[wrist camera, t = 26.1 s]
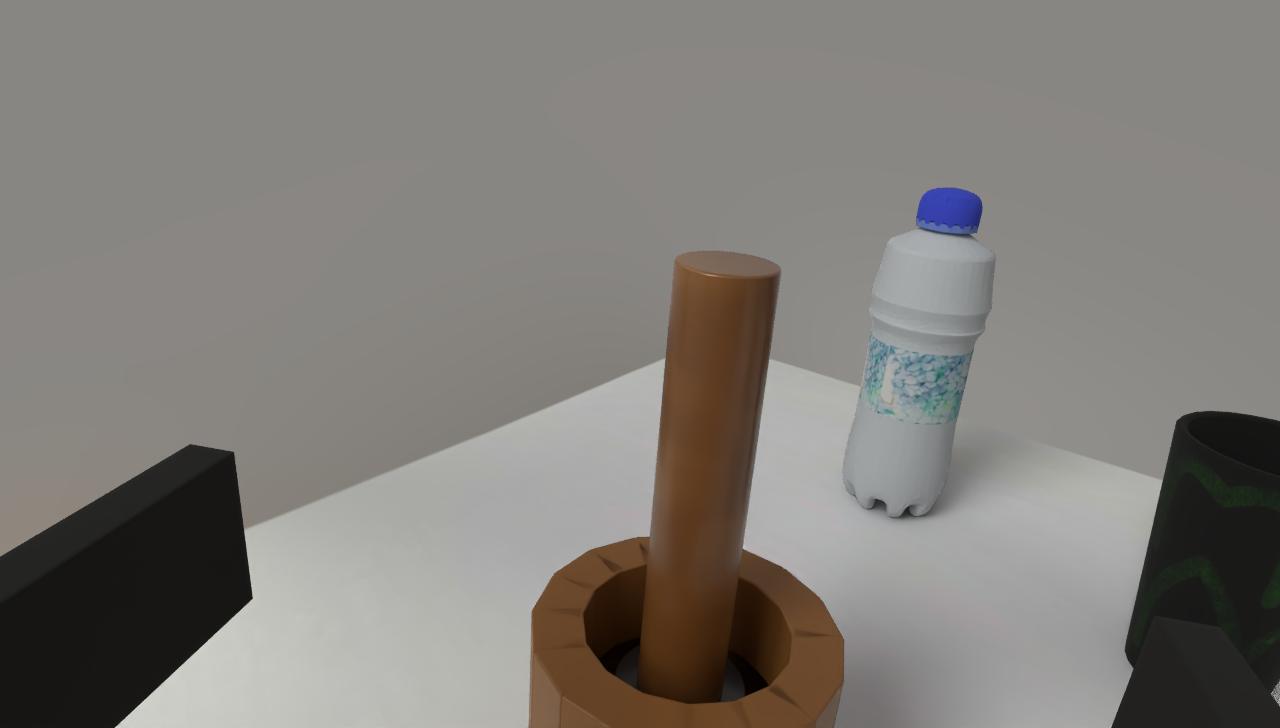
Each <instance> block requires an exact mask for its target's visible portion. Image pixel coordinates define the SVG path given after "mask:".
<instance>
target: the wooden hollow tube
mask: <svg viewBox="0 0 1280 728" xmlns="http://www.w3.org/2000/svg"><path fill="white" fill-rule="evenodd" d="M649 540H650V537H637V538H631V539H628V540H624V541H621V542H617V543H613V544H610V545H606V546H602V547H599V548H595V549H592V550H589V551H587V552H586V553H584V554H583V555H581V556H580V557H578V558H577V559H575V560H574V561H572V562H571V563H569V564H568V565H566V566H565V567H563V568H562V569H560V570H559V571H557V572H556V573H554V576H552V578H551V580H550V582H549V583H548V585H547V587H546V588H545V590H544V592H543V593H542V595H541V597H540V598H539V600H538V602H537V603H536V605H535V607H534V608H533V610H532V623H531V661H530V699H529V728H834V725H835V720H836V715H837V710H838V706H839V701H840V696H841V691H842V686H843V682H844V639H843V637H842V635H841V633H840V632H839V630H838V628H837V626H836V624H835V623H834V621H833V619H832V617H831V615H830V614H829V612H828V610H827V608H826V606H825V605H824V603H823V601H822V600H820V598H819V597H818V596H817V595H816V594H815V593H813V592H812V591H811V590H810V589H809V588H807V587H806V586H805V585H804V584H803V583H802V582H800V581H799V580H798V579H797V578H796V577H794V576H793V575H792V574H791V573H790V572H788V571H787V570H786V569H783V567H781V566H779V565H777V564H775V563H772V562H770V561H768V560H766V559H764V558H761V557H759V556H757V555H755V554H753V553H750V552H748V551H746V550H744V549H742V556H741V563H740V570H739V577H738V584H737V592H736V599H735V606H734V613H733V620H732V627H731V634H730V642H729V649H728V656H727V658H728V659H729V660H730V661H731V662H732V663H733V664H734V665H735V666H736V668H737V669H738V671H739V672H740V674H741V676H742V678H743V681H744V685H745V690H746V696H745V697H743V698H740V699H738V700H736V701H732V702H715V703H697V704H686V703H682V702H678V701H674V700H670V699H666V698H662V697H658V696H654V695H650V694H646V693H642V692H640V691H639V690H637V689H635V688H634V687H632V686H631V685H629V684H627V683H626V682H624V681H623V680H621V679H619V678H618V677H616V676H614V675H615V671H616V668H617V666H618V664H619V662H620V661H621V660H622V658H623V657H624V656H625V655H626V654H627V653H628V652H629V651H631V650H632V649H633V648H635V647H637V646H638V645H640V641H641V630H642V619H643V608H644V596H645V585H646V574H647V563H648V551H649Z"/></svg>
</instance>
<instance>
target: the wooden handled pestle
mask: <svg viewBox="0 0 1280 728" xmlns="http://www.w3.org/2000/svg"><path fill="white" fill-rule="evenodd" d="M780 277H781V269H780V267H779V266H778V265H777V264H775V263H773V262H771V261H769V260H766V259H763V258H760V257H756V256H752V255H747V254H740V253H734V252H723V251H697V252H689V253H685V254H681V255H679V256H677V257H676V259H675V261H674V271H673V283H672V294H671V305H670V316H669V327H668V338H667V350H666V361H665V372H664V383H663V394H662V406H661V417H660V428H659V439H658V451H657V462H656V473H655V484H654V495H653V507H652V518H651V529H650V540H649V551H648V563H647V574H646V585H645V596H644V608H643V619H642V630H641V641H640V645H638V646H637V647H635V648H633V649H632V650H631V651H629V652H628V653H627V654H626V655H625V656H624V657H623V658H622V660H621V661H620V662H619V664H618V666H617V668H616V671H615V675H614V676H616V677H618V678H619V679H621V680H623V681H624V682H626V683H627V684H629V685H631V686H632V687H634V688H635V689H637V690H639V691H640V692H642V693H646V694H650V695H654V696H658V697H662V698H666V699H670V700H674V701H678V702H682V703H686V704H697V703H715V702H732V701H736V700H738V699H740V698H743V697H745V696H746V690H745V685H744V681H743V678H742V676H741V674H740V672H739V671H738V669H737V668H736V666H735V665H734V664H733V663H732V662H731V661H730V660H729V659H728V658H727V656H728V649H729V642H730V634H731V627H732V620H733V613H734V606H735V599H736V592H737V584H738V577H739V570H740V563H741V556H742V549H743V542H744V535H745V527H746V520H747V513H748V506H749V499H750V492H751V485H752V477H753V470H754V463H755V456H756V449H757V442H758V435H759V427H760V420H761V413H762V406H763V399H764V392H765V385H766V378H767V370H768V363H769V356H770V349H771V342H772V334H773V327H774V320H775V313H776V306H777V298H778V292H779V285H780Z"/></svg>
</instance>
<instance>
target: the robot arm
mask: <svg viewBox="0 0 1280 728" xmlns="http://www.w3.org/2000/svg"><path fill="white" fill-rule="evenodd" d="M252 599H253V596H252V589H251V581H250V573H249V565H248V558H247V550H246V542H245V534H244V527H243V519H242V511H241V503H240V495H239V488H238V480H237V472H236V465H235V457H234V452H231V451H225V450H220V449H214V448H208V447H203V446H197V445H191V444H190V445H188V446H186V447H185V448H183V449H181V450H180V451H178V452H176V453H175V454H173V455H171V456H170V457H168V458H166V459H165V460H163V461H161V462H160V463H158V464H156V465H154V466H153V467H151V468H149V469H148V470H146V471H144V472H143V473H141V474H139V475H137V476H136V477H134V478H132V479H131V480H129V481H127V482H126V483H124V484H122V485H121V486H119V487H117V488H116V489H114V490H112V491H111V492H109V493H107V494H105V495H104V496H102V497H100V498H99V499H97V500H95V501H94V502H92V503H90V504H89V505H87V506H85V507H83V508H82V509H80V510H78V511H77V512H75V513H73V514H72V515H70V516H68V517H67V518H65V519H63V520H61V521H60V522H58V523H56V524H55V525H53V526H51V527H50V528H48V529H46V530H45V531H43V532H41V533H40V534H38V535H36V536H34V537H33V538H31V539H29V540H28V541H26V542H24V543H23V544H21V545H19V546H18V547H16V548H14V549H12V550H11V551H9V552H7V553H6V554H4V555H2V556H1V557H0V728H115V727H116V726H117V725H118V724H119V723H120V722H121V721H122V720H123V719H125V718H126V717H127V716H128V715H129V714H130V713H131V712H132V711H133V710H134V709H135V708H136V707H137V706H138V705H140V704H141V703H142V702H143V701H144V700H145V699H146V698H147V697H148V696H149V695H150V694H151V693H152V692H153V691H154V690H156V689H157V688H158V687H159V686H160V685H161V684H162V683H163V682H164V681H165V680H166V679H167V678H168V677H169V676H171V675H172V674H173V673H174V672H175V671H176V670H177V669H178V668H179V667H180V666H181V665H182V664H183V663H184V662H185V661H187V660H188V659H189V658H190V657H191V656H192V655H193V654H194V653H195V652H196V651H197V650H198V649H199V648H200V647H202V646H203V645H204V644H205V643H206V642H207V641H208V640H209V639H210V638H211V637H212V636H213V635H214V634H215V633H216V632H218V631H219V630H220V629H221V628H222V627H223V626H224V625H225V624H226V623H227V622H228V621H229V620H230V619H231V618H233V617H234V616H235V615H236V614H237V613H238V612H239V611H240V610H241V609H242V608H243V607H244V606H245V605H246V604H247V603H249V602H250V601H251V600H252ZM1111 728H1280V706H1279V705H1278V704H1277V702H1276V701H1275V700H1274V698H1273V697H1272V696H1271V694H1270V693H1269V691H1268V690H1267V689H1266V687H1265V686H1264V685H1263V683H1262V682H1261V681H1260V679H1259V678H1258V677H1257V675H1256V674H1255V673H1254V671H1253V670H1252V669H1251V667H1250V666H1249V665H1248V663H1247V662H1246V661H1245V659H1244V658H1243V657H1242V655H1241V654H1240V653H1239V651H1238V650H1237V649H1236V647H1235V646H1234V645H1233V643H1232V642H1231V641H1230V639H1229V638H1228V637H1227V635H1226V634H1225V633H1224V631H1223V630H1222V629H1221V627H1217V626H1211V625H1206V624H1200V623H1194V622H1189V621H1183V620H1177V619H1172V618H1166V617H1161V616H1155V615H1154V618H1153V620H1152V623H1151V625H1150V628H1149V631H1148V633H1147V636H1146V638H1145V641H1144V644H1143V646H1142V649H1141V652H1140V654H1139V657H1138V659H1137V662H1136V665H1135V667H1134V670H1133V672H1132V675H1131V678H1130V680H1129V683H1128V686H1127V688H1126V691H1125V693H1124V696H1123V699H1122V701H1121V704H1120V706H1119V709H1118V712H1117V714H1116V717H1115V719H1114V722H1113V725H1112V727H1111Z"/></svg>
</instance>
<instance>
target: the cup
mask: <svg viewBox="0 0 1280 728" xmlns="http://www.w3.org/2000/svg"><path fill="white" fill-rule="evenodd" d="M1154 615H1155V616H1161V617H1166V618H1172V619H1177V620H1183V621H1189V622H1194V623H1200V624H1206V625H1211V626H1217V627H1221V629H1222V630H1223V631H1224V633H1225V634H1226V635H1227V637H1228V638H1229V639H1230V641H1231V642H1232V643H1233V645H1234V646H1235V647H1236V649H1237V650H1238V651H1239V653H1240V654H1241V655H1242V657H1243V658H1244V659H1245V661H1246V662H1247V663H1248V665H1249V666H1250V667H1251V669H1252V670H1253V671H1254V673H1255V674H1256V675H1257V677H1258V678H1259V679H1260V681H1261V682H1262V683H1263V685H1264V686H1265V687H1266V689H1267V690H1268V691H1269V693H1270V694H1271V693H1272V691H1273V690H1274V688H1275V686H1276V685H1277V683H1278V682H1279V680H1280V421H1277V420H1273V419H1268V418H1263V417H1258V416H1253V415H1247V414H1239V413H1232V412H1219V411H1203V412H1194V413H1190V414H1187V415H1184V416H1182V417H1181V418H1180V419H1178V420H1177V421H1176V426H1175V430H1174V434H1173V439H1172V443H1171V447H1170V452H1169V456H1168V461H1167V466H1166V469H1165V474H1164V478H1163V483H1162V487H1161V491H1160V496H1159V500H1158V504H1157V509H1156V513H1155V518H1154V522H1153V526H1152V531H1151V535H1150V539H1149V544H1148V548H1147V553H1146V557H1145V561H1144V566H1143V570H1142V575H1141V579H1140V583H1139V588H1138V592H1137V596H1136V601H1135V605H1134V610H1133V614H1132V618H1131V623H1130V627H1129V631H1128V636H1127V640H1126V646H1125V653H1126V656H1127V659H1128V661H1129V662H1130V664H1131V665H1132V667H1133V668H1134V667H1135V665H1136V662H1137V659H1138V657H1139V654H1140V652H1141V649H1142V646H1143V644H1144V641H1145V638H1146V636H1147V633H1148V631H1149V628H1150V625H1151V623H1152V620H1153V618H1154Z"/></svg>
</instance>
